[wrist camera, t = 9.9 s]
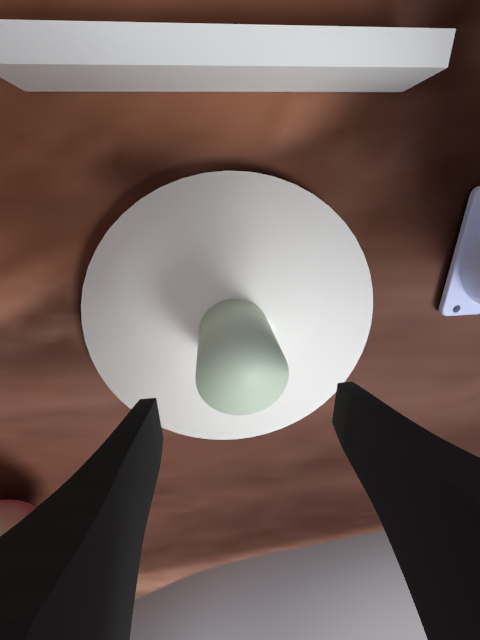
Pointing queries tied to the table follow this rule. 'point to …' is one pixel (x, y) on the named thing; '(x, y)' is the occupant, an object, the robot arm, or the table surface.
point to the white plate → (225, 295)
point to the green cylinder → (239, 359)
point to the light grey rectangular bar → (217, 57)
